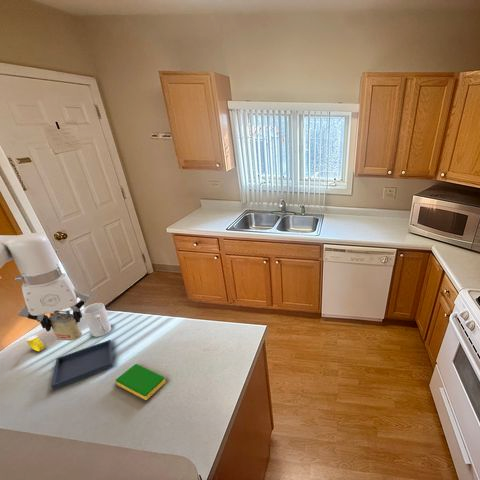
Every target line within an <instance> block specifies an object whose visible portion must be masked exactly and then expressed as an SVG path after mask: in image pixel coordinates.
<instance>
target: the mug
mask: <svg viewBox="0 0 480 480" xmlns="http://www.w3.org/2000/svg"><path fill="white" fill-rule="evenodd" d="M81 314H82V317H83V318H84V320H85V322H86V325H87V327H88V329H89V331H90V334H91V335H92V337H94V338H99V337H102V336H105V335H107V334H108V333H110V332H111V330H112V326H111V322H110V319H109V316H108V312H107V309H106V306H105V304H104V303H103V302H96V303H91V304H89V305H86V306H85V307H84V308H83V309H82V310H81Z"/></svg>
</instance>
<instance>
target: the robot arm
mask: <svg viewBox="0 0 480 480" xmlns="http://www.w3.org/2000/svg"><path fill="white" fill-rule="evenodd" d="M11 261H14V262H15V263H14V264H15V265H16V267H17V269H18V271H19V275H18V276H14V281H15V282H23V283H22V285H21V292H22V296H23V299H24V302H25V305H24V306H23V307H22V308H21V309H20V310H19V311H18V313H17V316H19V317H22V318H27V319H29V320H33V321H36V322H37V323H39V324H40V325H41V328H42V329H45V331H46V332H50V331H51V329H52V327H51V325H50V322H49V316H48V315H47V314H51V313H54V312H55V311H63V310H65V309H71V310H72V314H73V315H74V318H75V320H76V322H77V324H78V323H80V322H81V318H83V313H82V310H81V308H82V307H83V306H84V305H85V303H86V302H88V300H89V299H90V295H89V294H87V293H84V292H81V291H77V290H76V288H75V286H74V285H73V283H72V281H71V279H70V278H69V277H68V276H67V275H66V273H64V272H62V270H61V267H60V264H59V263H58V260H57V258H56V255H55V253H54V250H53V247H52V246H51V243H50V240H49V238H48V236H47V235H46V234H43V233H41V232H28V233H22V234H19V235H12V234H11V235H6V234H5V235H2V234H0V269H2V268H3V267H4V265H5V264H7V263H8V262H11ZM78 298H79V301H78Z"/></svg>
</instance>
